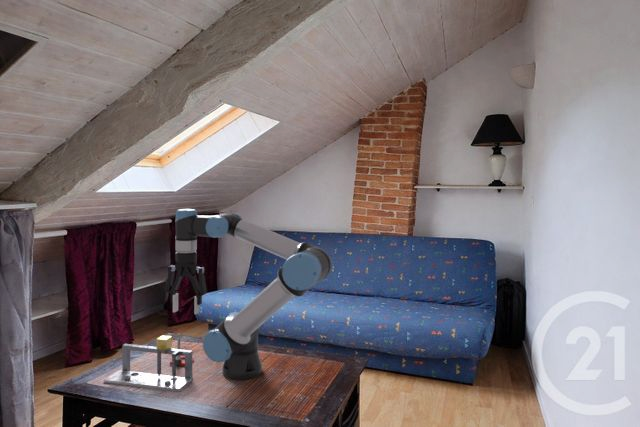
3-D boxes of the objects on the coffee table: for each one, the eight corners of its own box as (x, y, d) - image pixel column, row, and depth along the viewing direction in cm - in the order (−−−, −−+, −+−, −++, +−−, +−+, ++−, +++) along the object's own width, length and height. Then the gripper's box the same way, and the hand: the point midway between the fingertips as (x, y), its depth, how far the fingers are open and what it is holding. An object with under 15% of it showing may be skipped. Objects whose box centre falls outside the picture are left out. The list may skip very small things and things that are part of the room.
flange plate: (191, 381, 172) (191, 376, 172) (179, 391, 163) (179, 386, 163) (119, 372, 178) (119, 367, 178) (103, 382, 169) (103, 377, 169)
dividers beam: (192, 377, 175) (192, 350, 174) (185, 383, 170) (185, 355, 169) (125, 370, 180) (125, 343, 179) (117, 375, 175) (117, 348, 175)
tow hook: (177, 358, 195) (167, 365, 186) (178, 327, 194) (168, 333, 185) (197, 359, 193) (187, 367, 184) (197, 328, 193) (188, 335, 184)
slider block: (171, 370, 177) (171, 336, 176) (163, 377, 171) (163, 341, 170) (162, 369, 178) (162, 335, 177) (153, 376, 172) (153, 340, 171)
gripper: (217, 251, 172) (216, 311, 174) (165, 248, 176) (165, 307, 178) (208, 254, 165) (207, 317, 166) (154, 251, 169) (155, 312, 171)
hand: (186, 312), depth 172 cm, fingers open, 8 cm apart
